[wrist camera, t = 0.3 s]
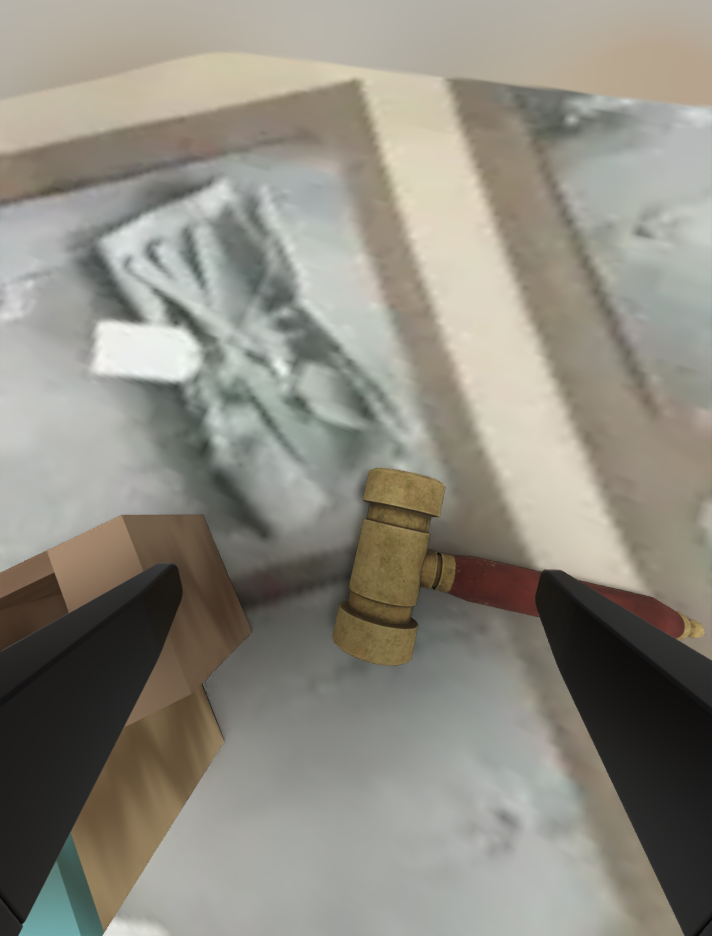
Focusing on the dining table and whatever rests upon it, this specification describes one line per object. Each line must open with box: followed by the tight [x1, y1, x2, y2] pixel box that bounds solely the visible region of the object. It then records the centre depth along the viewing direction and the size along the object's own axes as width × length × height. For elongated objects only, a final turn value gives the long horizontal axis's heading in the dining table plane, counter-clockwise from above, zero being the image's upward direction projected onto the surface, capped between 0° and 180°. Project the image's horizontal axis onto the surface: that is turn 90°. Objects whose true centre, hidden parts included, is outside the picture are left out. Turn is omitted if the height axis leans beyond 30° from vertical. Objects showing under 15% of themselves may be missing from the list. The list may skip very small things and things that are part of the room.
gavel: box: [332, 468, 704, 666], centre depth 22 cm, size 21×5×10 cm
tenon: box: [19, 684, 224, 936], centre depth 17 cm, size 6×4×11 cm, turn 26°
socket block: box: [0, 515, 252, 727], centre depth 19 cm, size 8×12×8 cm, turn 116°
